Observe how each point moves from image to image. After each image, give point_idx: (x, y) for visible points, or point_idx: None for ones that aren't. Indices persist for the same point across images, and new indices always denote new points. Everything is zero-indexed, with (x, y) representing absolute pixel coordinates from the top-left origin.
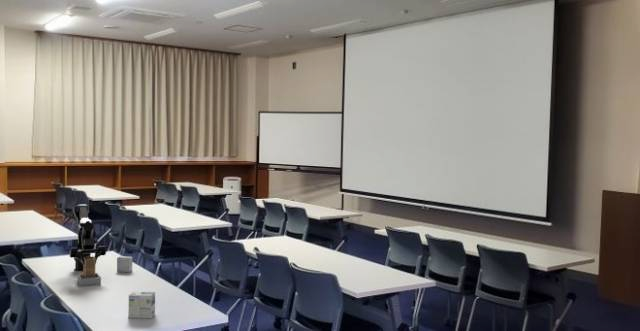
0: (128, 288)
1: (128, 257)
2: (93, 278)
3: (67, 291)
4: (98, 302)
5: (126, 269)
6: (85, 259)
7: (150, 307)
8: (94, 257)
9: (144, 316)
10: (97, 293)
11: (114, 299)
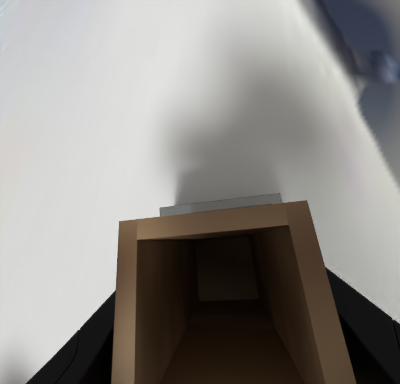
0: (89, 128)
1: None
2: (201, 203)
3: (319, 129)
4: (201, 5)
5: None
6: (291, 203)
7: None
8: (118, 328)
9: None
10: (197, 86)
11: (155, 26)
